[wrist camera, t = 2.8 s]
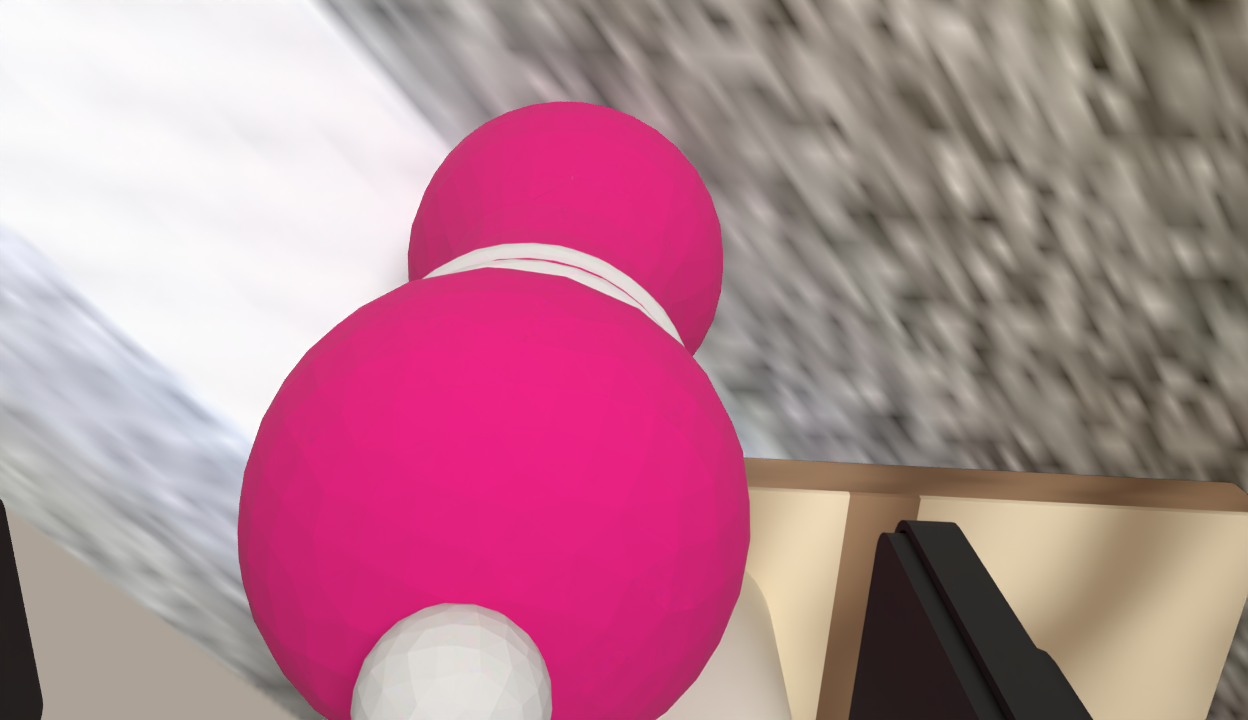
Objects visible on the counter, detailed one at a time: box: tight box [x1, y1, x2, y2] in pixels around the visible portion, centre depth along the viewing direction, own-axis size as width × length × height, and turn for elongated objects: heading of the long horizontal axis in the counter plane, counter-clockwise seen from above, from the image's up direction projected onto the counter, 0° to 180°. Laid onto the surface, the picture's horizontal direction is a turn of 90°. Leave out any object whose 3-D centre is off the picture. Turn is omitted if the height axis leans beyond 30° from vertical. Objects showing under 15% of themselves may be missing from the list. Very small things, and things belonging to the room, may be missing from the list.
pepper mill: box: [238, 102, 750, 720], centre depth 17 cm, size 7×7×20 cm
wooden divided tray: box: [744, 458, 1248, 720], centre depth 30 cm, size 22×10×2 cm, turn 87°
